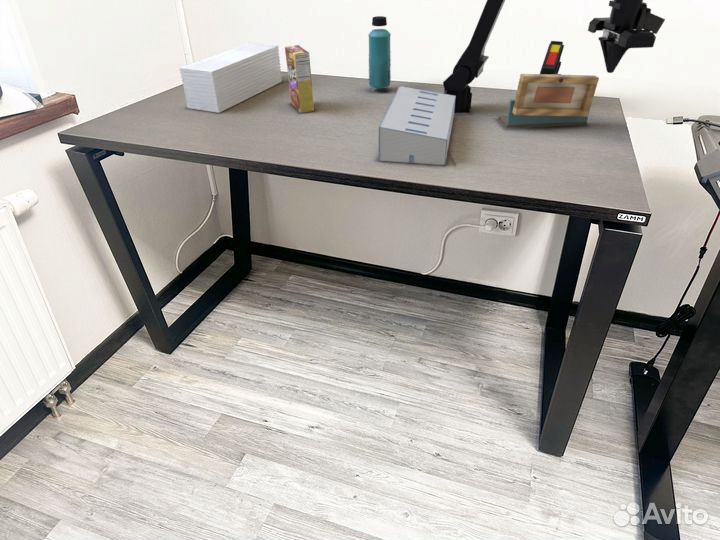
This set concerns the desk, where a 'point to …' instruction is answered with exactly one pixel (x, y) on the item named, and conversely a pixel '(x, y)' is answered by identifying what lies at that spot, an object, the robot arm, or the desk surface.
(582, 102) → the picture frame
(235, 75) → the stack of papers
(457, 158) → the desk surface
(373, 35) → the beverage bottle
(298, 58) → the candy box
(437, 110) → the warehouse
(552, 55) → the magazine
